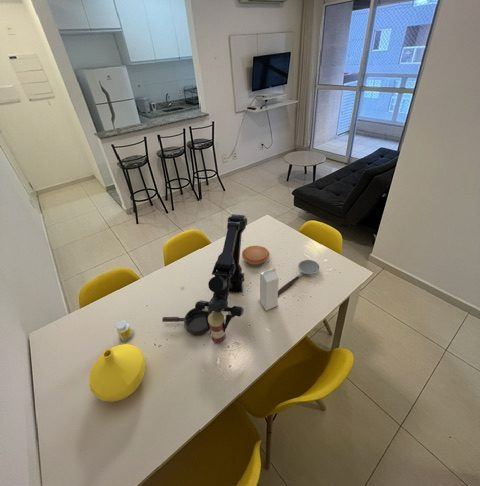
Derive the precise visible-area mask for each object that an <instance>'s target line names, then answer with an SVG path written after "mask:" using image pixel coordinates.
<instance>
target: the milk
mask: <svg viewBox="0 0 480 486" xmlns="http://www.w3.org/2000/svg"><path fill="white" fill-rule="evenodd" d="M276 270H277V269H276V267H274V268H271V269H268V270H265V271H263V272H260V273H259V302H260V304H261V305H262V307H263V308H264V310H265V311H269V310H271V309H273V308H276V307H278V297H279V295H278V290H279V283H280V282H279V281H280V277H279V275H278V273H277V271H276Z"/></svg>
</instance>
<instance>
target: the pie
mask: <svg viewBox="0 0 480 486" xmlns="http://www.w3.org/2000/svg"><path fill="white" fill-rule="evenodd" d="M241 257H242V259H243V260H244V261H245V262H246V263H247V264H248V265H250V266H254V267H255V266H256V267H257V266H261V265H263V264H264V263H266V262H267V261H268V260H269V258H270V251H269V250H268V249H267V248H266V247H264V246H261V245H250V246H247V247H246V248H244V249H243V250H242V252H241Z"/></svg>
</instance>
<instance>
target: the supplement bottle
mask: <svg viewBox="0 0 480 486" xmlns="http://www.w3.org/2000/svg"><path fill="white" fill-rule="evenodd" d="M115 328H116V332H117V334H118V336H119V338H120V340H122V341H123V342H127V341H130V340H131V338H132V337H133V331H132V329H131V326H130V324H129V323H127V321H126V320H124V319H122V320H119V321H118V322H117V323H116V324H115Z"/></svg>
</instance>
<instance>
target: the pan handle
mask: <svg viewBox="0 0 480 486" xmlns="http://www.w3.org/2000/svg"><path fill="white" fill-rule="evenodd" d="M184 318H185V317H180V316H163V317H162V323H173V322H174V323H179V322H184Z"/></svg>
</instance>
